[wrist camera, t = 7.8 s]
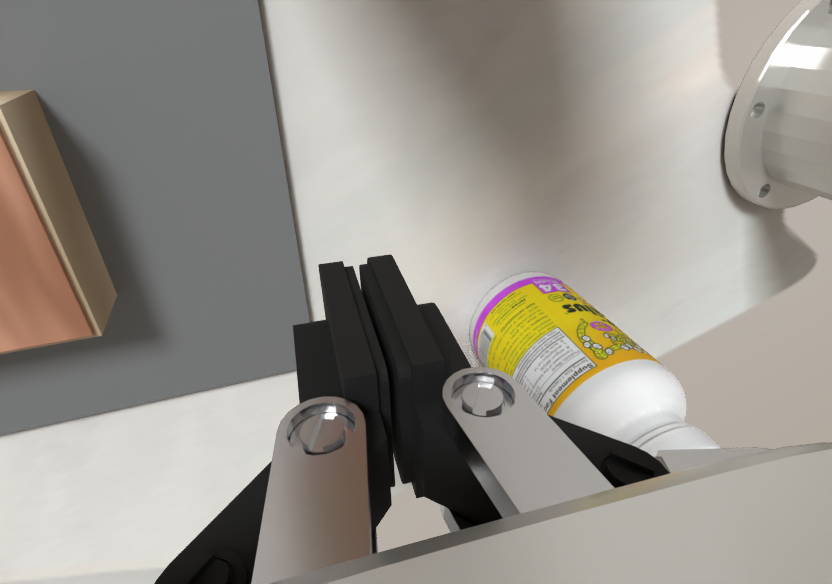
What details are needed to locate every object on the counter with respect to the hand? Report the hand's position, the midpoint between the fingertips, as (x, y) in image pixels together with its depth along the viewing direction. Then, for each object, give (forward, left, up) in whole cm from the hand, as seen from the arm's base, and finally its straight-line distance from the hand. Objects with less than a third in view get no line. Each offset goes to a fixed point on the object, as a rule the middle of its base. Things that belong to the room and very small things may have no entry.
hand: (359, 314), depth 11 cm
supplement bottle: (-11, +10, -12) cm, 19 cm away
